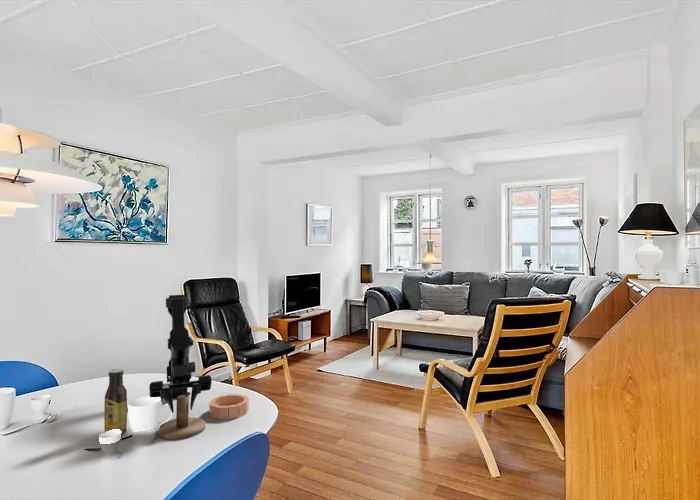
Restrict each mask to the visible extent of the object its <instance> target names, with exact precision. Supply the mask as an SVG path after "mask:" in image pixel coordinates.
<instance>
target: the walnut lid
mask: <svg viewBox="0 0 700 500" xmlns="http://www.w3.org/2000/svg"><path fill="white" fill-rule="evenodd" d="M189 398H190V396H189V395H180V396H178V397H177V399H176V412H175V414H176V415H175V416H176V418H173V419H170V420H168V422H167V421H165V422H164V423H161V424H160V425H159V426H160V428H159V427H158V428H159V431H158V430H157V434H158V436H159V437H160V438H162V439H164V440H172V441H173V440H175V441H176V440H177V441H178V440H184V439H190V438H193V437H195V436H197V435H199V434H201V433H202V432H204V430H205V429H206V422H205V420H204V419H202V418H199V417H191V416H190V417H189V411H190V410H189V407H190V401H189V400H190V399H189Z"/></svg>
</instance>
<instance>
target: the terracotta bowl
mask: <svg viewBox="0 0 700 500" xmlns="http://www.w3.org/2000/svg"><path fill="white" fill-rule="evenodd" d="M249 401H250V400H249V397H248V396H247V395H244V394H241V393H229V394H228V393H227V394H222V395H219V396H218V395H217V396H216V397H214V398H212V399H210V401H208V404H209V405H208V408H209V409H208V412H209V413H208V415H209V416H210V418H212V419H216V420H233V419H236V418H240V417H243V416H245V415H247V413H248V412H249V410H250V407H249V406H250V405H249V404H250V403H249Z"/></svg>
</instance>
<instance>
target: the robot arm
mask: <svg viewBox="0 0 700 500" xmlns="http://www.w3.org/2000/svg"><path fill="white" fill-rule="evenodd" d="M189 304H190V303H189V296H186V295H185V294H169V295H168V297H166V298H165V308H166V309H167V313H168V314H169V316H170V317H171V327H172V329H171V330H170V331H169V338H167V350H169V351H170V359H169V360H168V366H166V383H164V380H157V381H152V382H150V383H149V398H151V397H155V398H160V399H164V400H165V402H166V403H167V405H168V406H169V409H170V412H171V413H173V414H174V402H173V399H176V400H177V397H178V396H180V395H188V396H189V395H191V396H190V402H189V407H190V410H189V411H193V407H194V405H195V401H196V398H197V396H198V395H199V394H201V393H202V392H204V391H210V390H211V389H212V383H213V382H212V376H211V375H210V374H206V375H205V374H204V375H199V376H198V380H191V379H192V374H193V373H196V361H192V362H191V361H190V348H192V346H193V345H194V340H193V339H192V336H190V335H189V330H188V328H187V327H186V325H185V313H186V311H187V309H188V308H187V307H189ZM188 388H189V389H190V388H191V392H189V391H188Z"/></svg>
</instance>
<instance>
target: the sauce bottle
mask: <svg viewBox="0 0 700 500" xmlns="http://www.w3.org/2000/svg"><path fill="white" fill-rule="evenodd" d="M108 379H109V380H108V382H109V383H108V387H107V389H106V392H105V394H104V398H103V399H104V406H103V409H104V413H103V414H104V417H103V418H104V422H103V423H104V427H103V428H104V429H103V430H104V433H105V432H106V431H109V430H112V429H120V430H121V431H122V434H121V435H123V434H125V432H127V425H128V397H127V396H128V395H127V393H128V392H127V390H128V389H126V387H125V385H124V384H123V383H124V381H123V379H124V369H123V368H114V369H111V370H109V371H108Z"/></svg>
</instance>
